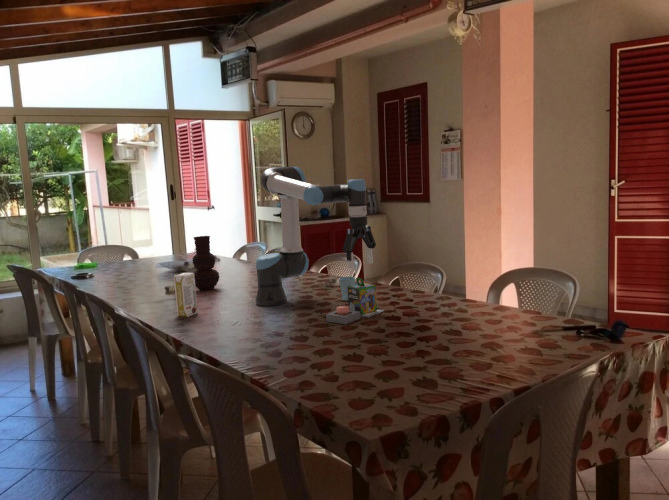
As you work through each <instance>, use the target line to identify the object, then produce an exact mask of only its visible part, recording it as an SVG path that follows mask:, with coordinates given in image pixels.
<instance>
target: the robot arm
mask: <svg viewBox="0 0 669 500" xmlns="http://www.w3.org/2000/svg"><path fill="white" fill-rule="evenodd" d="M259 179H260V180H259V182H260V186H261V187H262V189H263V190H264V191H266V192H268V193H271V194H277V197H279V199H280V213H281V215H280V216H281V218H280V219H281V236H282V240H281V241H282V247H281V248H280V250H279V253H278V252H272V253H266V254H262V255H261V256H259V257H257V258H256V260H255V261H256V263H255V264H256V266H255V268H256V276H257V277H256V278H257V292H256V297H255V298H254V299H255V305H257V306H260V307H272V306H279V305H280V306H281V305H284V304H286V303H287V302H288V297H287V295H286V293H285V290H284V287H283V280H284V279H290V278H296V277H299V276H303V275H305V273H306V272H307V271H308V268H309V264H310V263H309V262H310V260H309V257H308V255H307V254H306V253H305V252H304V249H303V248H302V246H301V239H300V238H301V235H300V234H301V233H300V232H301V231H300V213H299V212H300V209H299V200H302V201H304V203H306V204H307V205H310V206H312V205H313V206H317V205H324V204H333V203H334V204H335V203H348V215H349V226H351V228H347V229H346V235H345V239H344V243H343V248H342V252H343V253H345V254H346V261H347V268H348V269H355V264H354V252H353V250H354V248H355V245H356V243H357V240H359V239H362V241H363V242H364V243H365V245H366V249H365V250H366V264H374V249H375V248H376V246H377V243H376V241H375V238H374V235H373V233H372V228H371V227H372V226H371V225H368V216H367V215H368V211H367V208H368V207H367V188H366V181H365V180H364V179H363V178H359V179H357V178H356V179H348V180H347V184H331V185H316V184H312V183H309V182H307V179H306V175H305V173H304V171H303V170H302V169H301V168H300V167H299V166H291V165H290V166H280V167H279V166H277V167H275V166H274V167H269V168H266V169H265V170H264V171H263V172H262V173H261V175H260V178H259Z"/></svg>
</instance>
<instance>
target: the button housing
mask: <svg viewBox="0 0 669 500" xmlns="http://www.w3.org/2000/svg"><path fill="white" fill-rule="evenodd" d="M325 319H326V320H325V321H326V322H327V323H335V324H340V325H341V324H342V325H348V324H350V323H353V322H356V321H358V320H361V316H360V312H359V311H352V310H349V314H347V315H338V314H337V310H334V311H332V312H329V313H326V314H325Z"/></svg>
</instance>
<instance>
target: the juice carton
mask: <svg viewBox="0 0 669 500" xmlns="http://www.w3.org/2000/svg"><path fill="white" fill-rule="evenodd" d="M173 281H174V289H175V290H174V293H175V303H176V312H177V313H176V314H177V317H183V318H184V317H186V318H189V317H191V316H194V315H197V314H198V300H197V290H196V288H197V287H196V286H195V276H194V272H182V273H180V274H174V275H173Z"/></svg>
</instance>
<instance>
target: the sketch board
mask: <svg viewBox="0 0 669 500" xmlns="http://www.w3.org/2000/svg"><path fill="white" fill-rule="evenodd" d="M384 312H385V309H378V308H377V311H374V312H369V313H366V314H362V315H360V318H361V317H363V318H371V317H373V316H376V315H378V314H381V313H384Z"/></svg>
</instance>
